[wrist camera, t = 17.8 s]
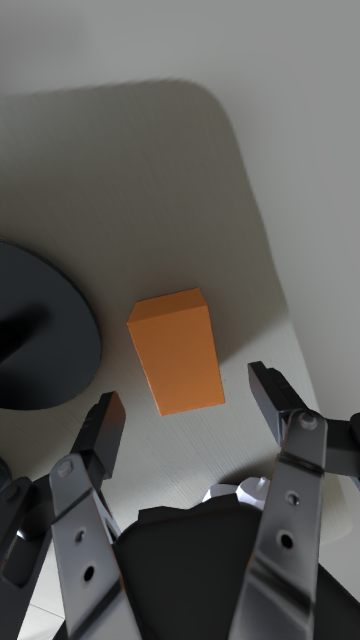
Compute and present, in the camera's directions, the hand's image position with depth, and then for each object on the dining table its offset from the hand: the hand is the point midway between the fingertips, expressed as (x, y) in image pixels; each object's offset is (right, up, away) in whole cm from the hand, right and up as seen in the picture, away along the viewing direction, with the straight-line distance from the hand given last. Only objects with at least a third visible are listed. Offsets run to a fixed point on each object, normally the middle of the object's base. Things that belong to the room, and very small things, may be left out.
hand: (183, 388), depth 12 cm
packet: (0, +3, +5) cm, 6 cm away
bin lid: (-14, +3, +4) cm, 14 cm away
